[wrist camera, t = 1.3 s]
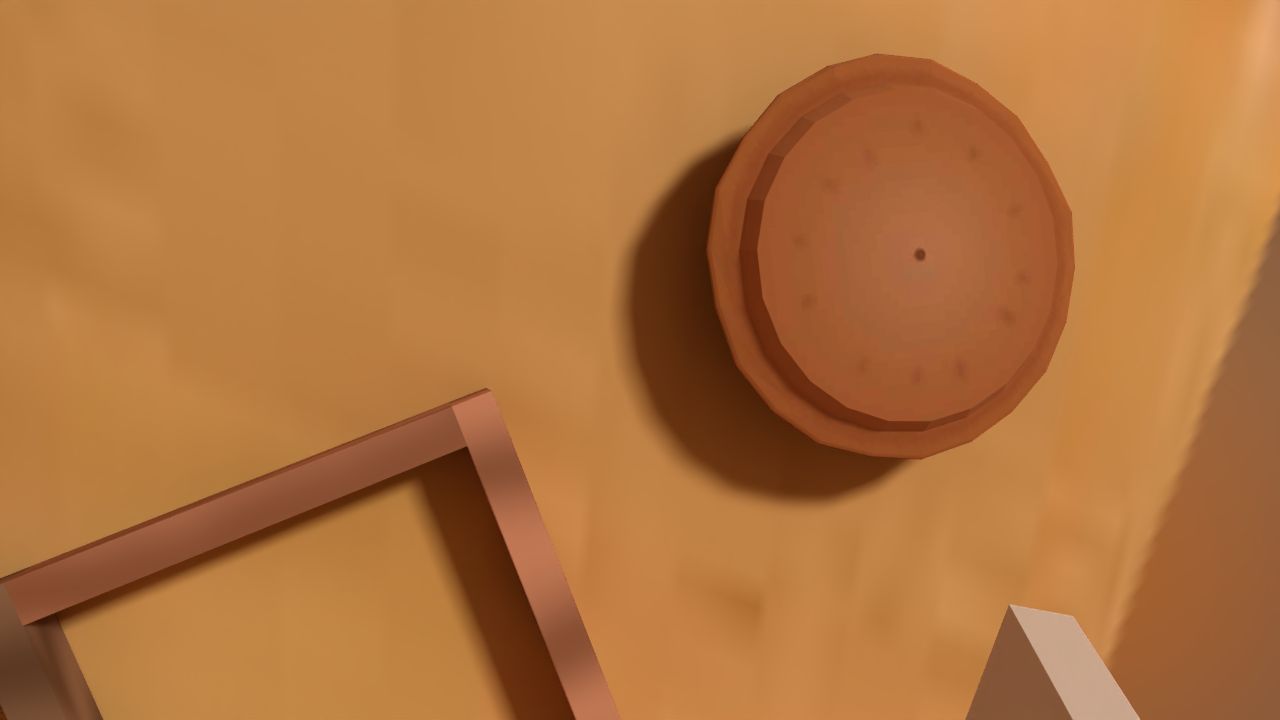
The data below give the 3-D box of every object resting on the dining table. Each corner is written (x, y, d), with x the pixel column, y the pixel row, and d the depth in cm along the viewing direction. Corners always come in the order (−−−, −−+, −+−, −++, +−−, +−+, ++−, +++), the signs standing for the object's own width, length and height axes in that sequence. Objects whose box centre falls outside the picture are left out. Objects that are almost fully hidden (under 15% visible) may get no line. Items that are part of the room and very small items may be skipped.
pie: (903, 519, 41) (970, 542, 36) (608, 314, 38) (638, 309, 33) (1078, 225, 43) (1164, 209, 38) (811, 6, 39) (868, -42, 35)
